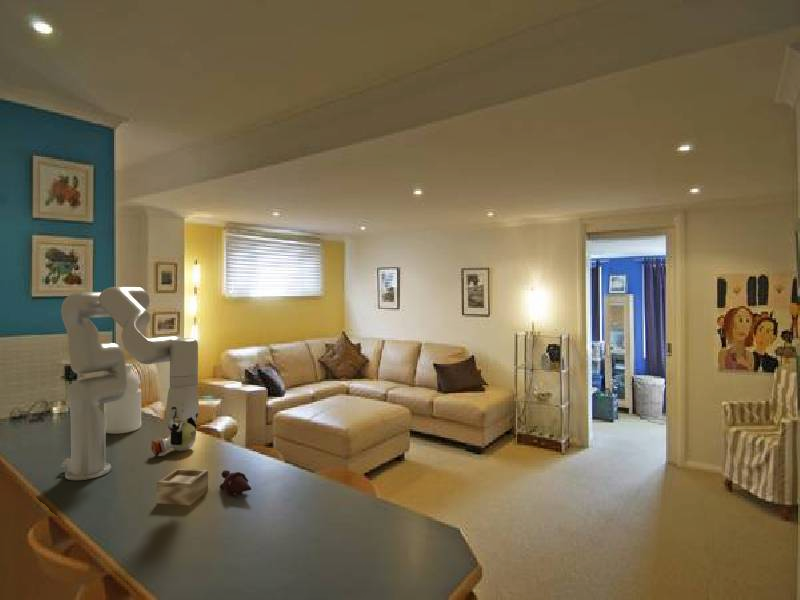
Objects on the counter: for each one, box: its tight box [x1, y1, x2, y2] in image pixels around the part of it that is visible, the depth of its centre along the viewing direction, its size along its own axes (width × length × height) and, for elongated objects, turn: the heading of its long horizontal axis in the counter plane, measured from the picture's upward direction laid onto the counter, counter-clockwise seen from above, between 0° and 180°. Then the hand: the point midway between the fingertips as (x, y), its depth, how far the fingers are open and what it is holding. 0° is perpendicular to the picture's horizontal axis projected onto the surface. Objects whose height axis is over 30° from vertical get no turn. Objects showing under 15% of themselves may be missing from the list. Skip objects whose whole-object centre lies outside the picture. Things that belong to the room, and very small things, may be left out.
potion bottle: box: [150, 433, 197, 458], centre depth 172 cm, size 9×10×15 cm
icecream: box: [219, 470, 252, 498], centre depth 138 cm, size 7×7×15 cm
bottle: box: [103, 363, 142, 435], centre depth 198 cm, size 14×14×28 cm
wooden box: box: [156, 468, 209, 506], centre depth 136 cm, size 10×10×6 cm
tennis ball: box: [178, 422, 197, 447], centre depth 136 cm, size 6×7×7 cm
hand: (183, 440), depth 136 cm, fingers closed on tennis ball, 6 cm apart
